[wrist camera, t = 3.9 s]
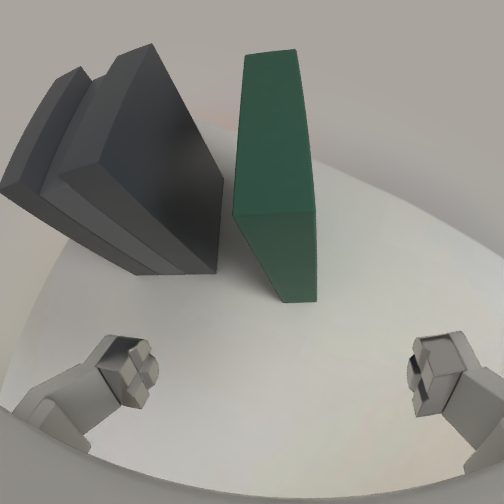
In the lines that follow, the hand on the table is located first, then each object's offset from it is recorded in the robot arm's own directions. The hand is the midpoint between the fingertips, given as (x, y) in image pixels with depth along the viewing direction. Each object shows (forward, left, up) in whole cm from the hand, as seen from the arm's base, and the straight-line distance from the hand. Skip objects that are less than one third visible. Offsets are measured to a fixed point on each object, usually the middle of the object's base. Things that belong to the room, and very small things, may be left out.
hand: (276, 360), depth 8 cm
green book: (+7, -5, -13) cm, 16 cm away
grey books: (+15, +2, -13) cm, 20 cm away
